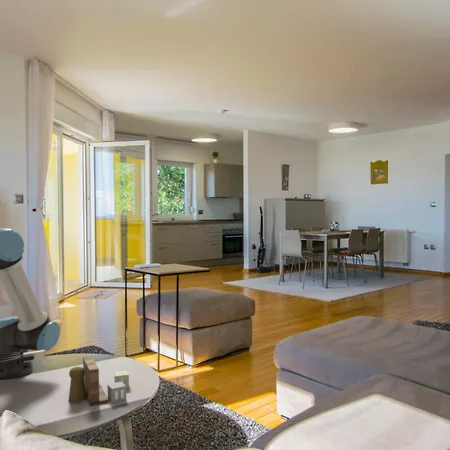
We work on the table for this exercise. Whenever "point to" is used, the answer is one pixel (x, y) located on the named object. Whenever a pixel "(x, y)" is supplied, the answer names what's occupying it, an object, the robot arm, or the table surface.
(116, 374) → the sage marker block
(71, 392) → the cork
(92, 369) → the backstop board
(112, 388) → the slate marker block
